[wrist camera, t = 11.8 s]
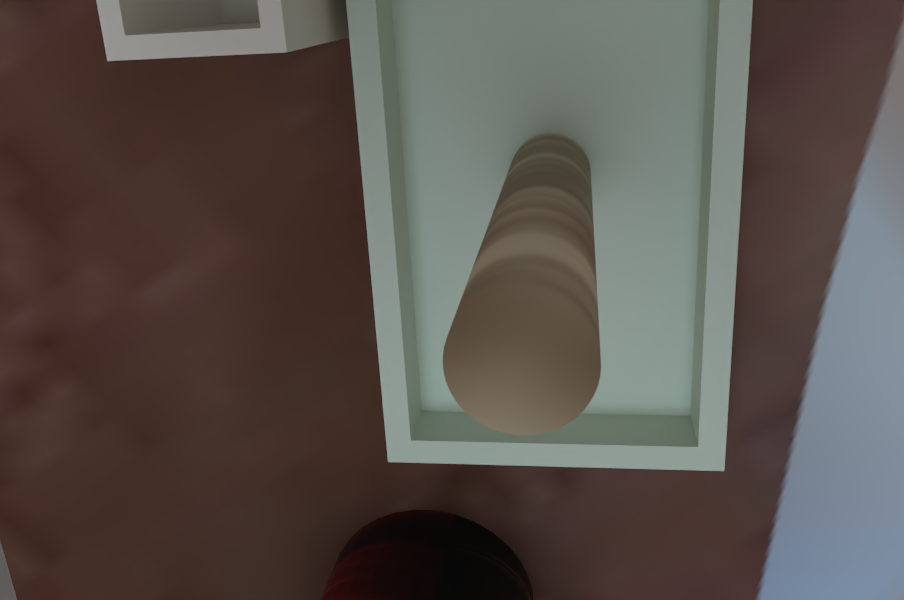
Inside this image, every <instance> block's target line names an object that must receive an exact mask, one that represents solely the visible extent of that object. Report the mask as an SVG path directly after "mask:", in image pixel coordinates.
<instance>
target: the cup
mask: <svg viewBox="0 0 904 600" xmlns="http://www.w3.org/2000/svg"><path fill="white" fill-rule="evenodd" d="M96 2H97V7H98V13H99V18H100V23H101V29H102V34H103V40H104V45H105V51H106V56H107V61H118V60H139V59H160V58H181V57H201V56H222V55H243V54H264V53H284V52H291V51H295V50H299V49H303V48H307V47H311V46H315V45H320V44H324V43H328V42H332V41H336V40H340V39H344V38H349V29H348V18H347V7H346V0H96Z"/></svg>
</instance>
